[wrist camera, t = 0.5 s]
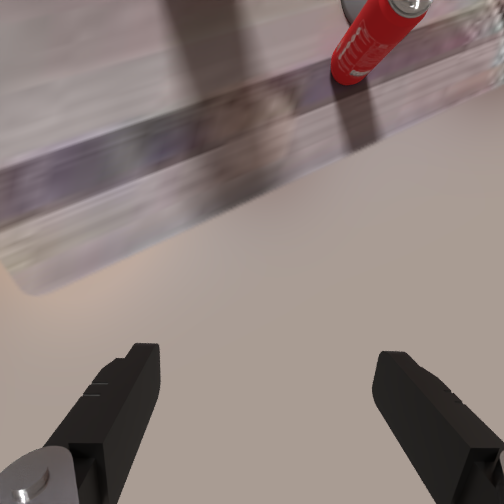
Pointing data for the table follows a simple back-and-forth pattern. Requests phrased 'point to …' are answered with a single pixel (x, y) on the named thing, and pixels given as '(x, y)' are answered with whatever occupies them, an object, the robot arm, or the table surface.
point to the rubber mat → (352, 8)
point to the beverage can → (374, 36)
